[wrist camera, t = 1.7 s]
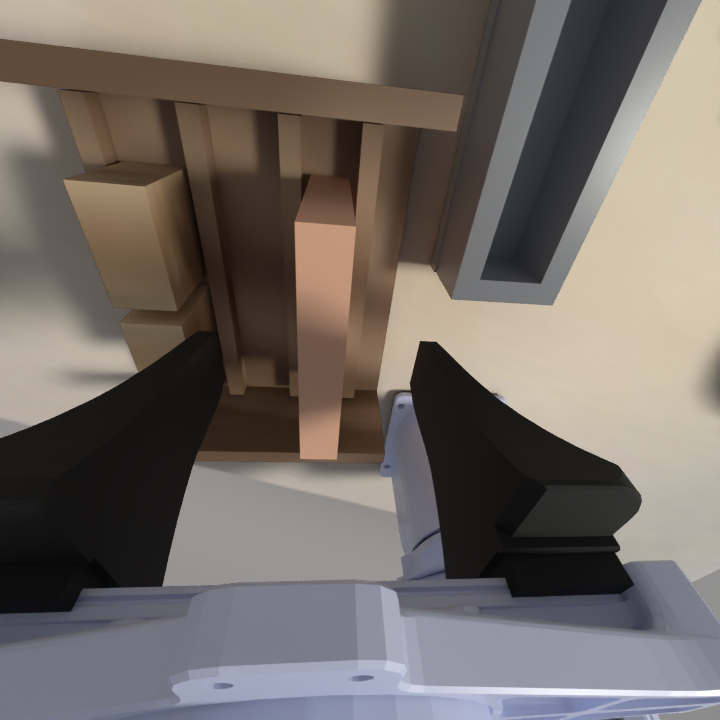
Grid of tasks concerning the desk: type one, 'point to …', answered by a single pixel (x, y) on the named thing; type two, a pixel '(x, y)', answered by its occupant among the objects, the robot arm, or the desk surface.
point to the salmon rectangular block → (323, 309)
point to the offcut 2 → (168, 327)
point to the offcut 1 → (141, 232)
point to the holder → (547, 137)
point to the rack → (259, 211)
